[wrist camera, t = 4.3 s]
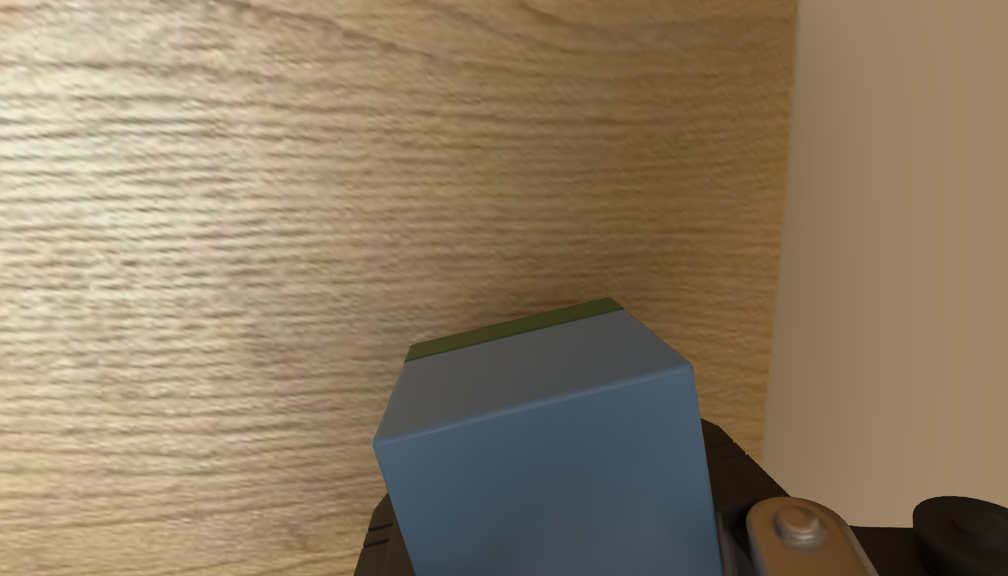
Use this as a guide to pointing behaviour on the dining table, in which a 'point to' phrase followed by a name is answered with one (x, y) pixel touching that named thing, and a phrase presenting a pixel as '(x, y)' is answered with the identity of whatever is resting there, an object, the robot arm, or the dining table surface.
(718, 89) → the dining table surface
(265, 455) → the dining table surface
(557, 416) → the sponge
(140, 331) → the dining table surface
